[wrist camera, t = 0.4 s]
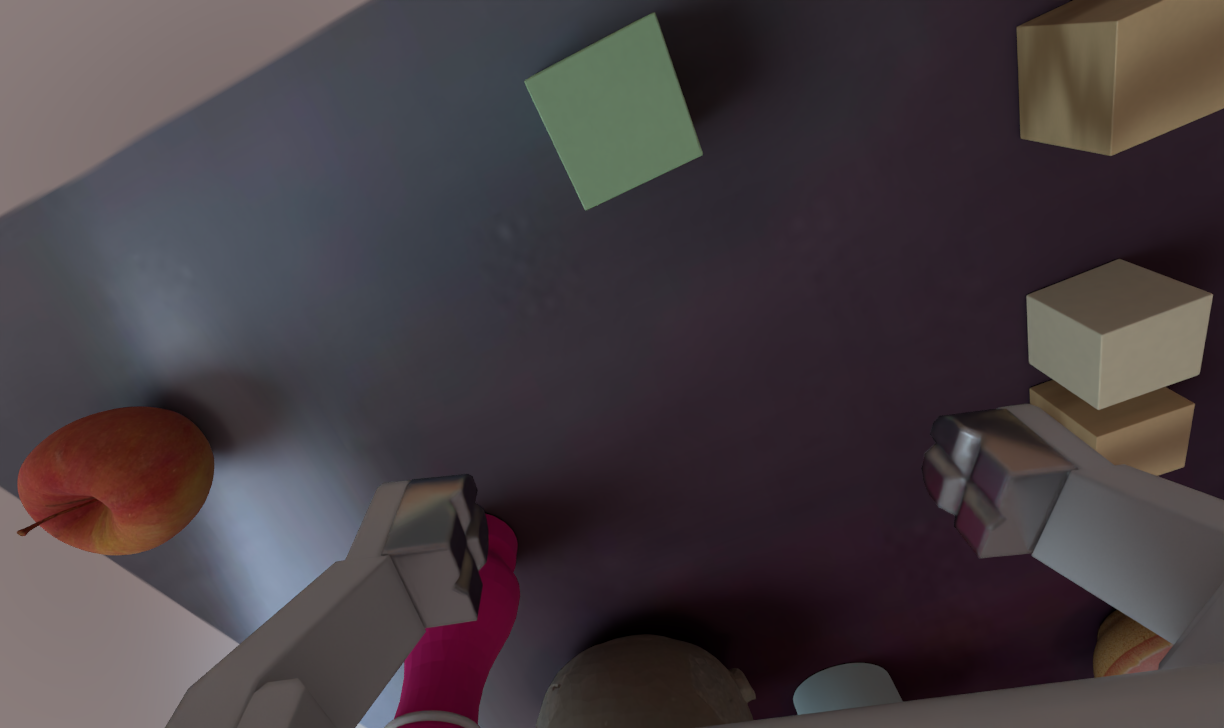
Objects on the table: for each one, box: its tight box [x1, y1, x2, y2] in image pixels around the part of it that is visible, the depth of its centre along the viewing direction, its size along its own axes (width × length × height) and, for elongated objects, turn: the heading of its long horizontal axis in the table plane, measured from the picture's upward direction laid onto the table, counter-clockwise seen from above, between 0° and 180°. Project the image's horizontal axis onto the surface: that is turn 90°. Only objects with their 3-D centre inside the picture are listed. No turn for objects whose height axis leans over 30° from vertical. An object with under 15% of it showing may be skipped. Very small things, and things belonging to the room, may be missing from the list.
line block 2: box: [1026, 259, 1213, 410], centre depth 29 cm, size 5×5×5 cm
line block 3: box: [1030, 380, 1195, 476], centre depth 32 cm, size 5×5×5 cm
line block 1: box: [1017, 0, 1224, 156], centre depth 22 cm, size 5×5×5 cm
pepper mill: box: [384, 514, 520, 728], centre depth 28 cm, size 7×7×20 cm
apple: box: [17, 407, 214, 555], centre depth 27 cm, size 7×7×8 cm
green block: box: [524, 13, 703, 210], centre depth 22 cm, size 5×5×5 cm
